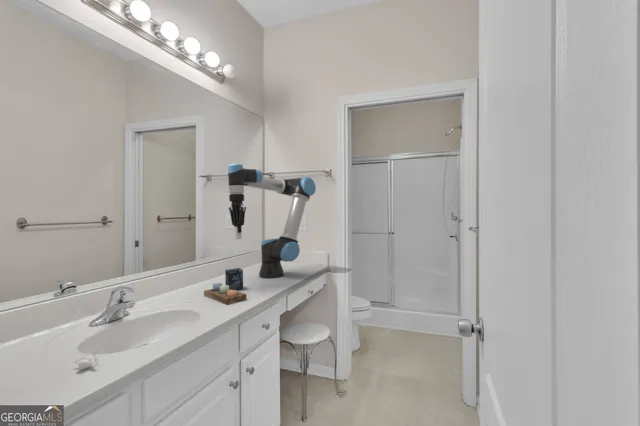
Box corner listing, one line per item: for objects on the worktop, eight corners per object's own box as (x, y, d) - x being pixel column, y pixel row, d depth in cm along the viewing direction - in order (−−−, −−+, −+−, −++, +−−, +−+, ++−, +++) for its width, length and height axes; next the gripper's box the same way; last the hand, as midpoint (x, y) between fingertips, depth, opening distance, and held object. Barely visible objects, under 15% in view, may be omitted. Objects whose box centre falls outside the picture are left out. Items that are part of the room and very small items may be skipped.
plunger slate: (219, 290, 157) (219, 282, 157) (223, 291, 154) (223, 283, 154) (211, 292, 154) (211, 284, 154) (215, 293, 151) (215, 285, 151)
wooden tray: (222, 291, 160) (222, 286, 160) (246, 299, 144) (246, 294, 144) (204, 295, 153) (203, 290, 153) (226, 304, 137) (226, 298, 137)
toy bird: (65, 369, 81) (71, 349, 83) (81, 367, 86) (86, 348, 87) (90, 371, 80) (96, 351, 81) (105, 369, 84) (110, 350, 85)
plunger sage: (226, 292, 152) (226, 284, 152) (230, 294, 149) (230, 285, 149) (218, 294, 149) (218, 286, 149) (222, 296, 146) (222, 287, 146)
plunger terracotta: (234, 298, 147) (233, 289, 147) (238, 299, 144) (238, 290, 144) (225, 300, 144) (225, 291, 144) (230, 301, 141) (230, 292, 141)
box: (228, 291, 160) (228, 271, 160) (225, 289, 164) (224, 269, 164) (243, 289, 164) (243, 269, 164) (240, 287, 169) (239, 267, 169)
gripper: (223, 194, 166) (225, 239, 166) (237, 193, 157) (239, 240, 158) (236, 194, 171) (238, 237, 172) (249, 193, 162) (251, 238, 163)
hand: (238, 238), depth 165 cm, fingers closed
